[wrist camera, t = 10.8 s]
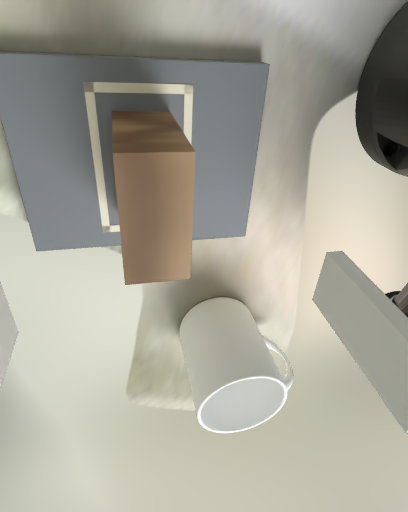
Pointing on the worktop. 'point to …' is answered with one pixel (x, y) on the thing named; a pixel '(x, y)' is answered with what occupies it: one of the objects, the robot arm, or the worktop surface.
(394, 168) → the robot arm
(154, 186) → the tall cardboard box
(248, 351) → the mug
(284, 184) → the worktop surface
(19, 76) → the baseboard
